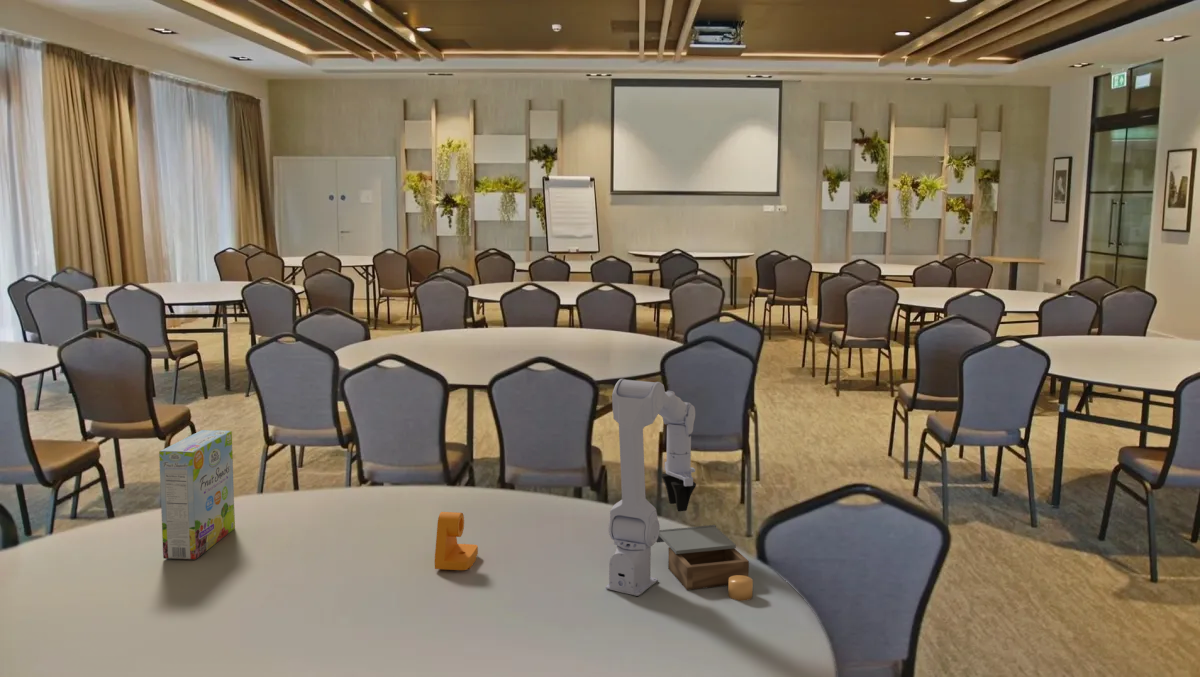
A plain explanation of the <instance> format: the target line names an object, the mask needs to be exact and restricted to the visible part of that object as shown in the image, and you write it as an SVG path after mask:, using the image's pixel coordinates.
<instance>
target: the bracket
mask: <svg viewBox="0 0 1200 677" xmlns="http://www.w3.org/2000/svg"><path fill="white" fill-rule="evenodd" d="M463 513H464V512H454V511H452V512H450V511H441V512H440V513H439V515H438V518H437V526H436V538H435V550H434V553H435V554H434V570H450V571H466V570H471V568H472V567H471V566H473V565H474V564H475V562H476V560H477V556H478V554H479V548H478V545H477V544H471V543H469V544H467V543H458V539H457V538H461V537H462V536H463V534H464V527H465V517H464V516H465V515H464V514H463ZM473 563H474V564H473Z"/></svg>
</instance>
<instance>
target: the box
mask: <svg viewBox="0 0 1200 677" xmlns="http://www.w3.org/2000/svg"><path fill="white" fill-rule="evenodd" d="M667 560H668V565H667V567H668V570H669V571H670V573H672V575H673V576H674V577H675V578H676V579H677V580H678V581H679V583H680V584H681V585H682V587H683V588H684V589H685V590H686V591H691V590H692V591H693V590H700V589H709V588H718V587H720V588H721V587H726V586H727V587H728V582H729V577H731V576H735V575H743V576H748V577H749V571H750V570H749V569H750V567H749V566H750V563H749V562H750V561H749V559H747V558H746V557H745V556H744V555H743V554H742V553H740V552H739V551H738V550H737V548H733V549H723V550H713V551H703V552H694V553H684V554H675V552H674V551H673V550H672V549H671V548H670V547H669V546H668V559H667Z"/></svg>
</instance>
